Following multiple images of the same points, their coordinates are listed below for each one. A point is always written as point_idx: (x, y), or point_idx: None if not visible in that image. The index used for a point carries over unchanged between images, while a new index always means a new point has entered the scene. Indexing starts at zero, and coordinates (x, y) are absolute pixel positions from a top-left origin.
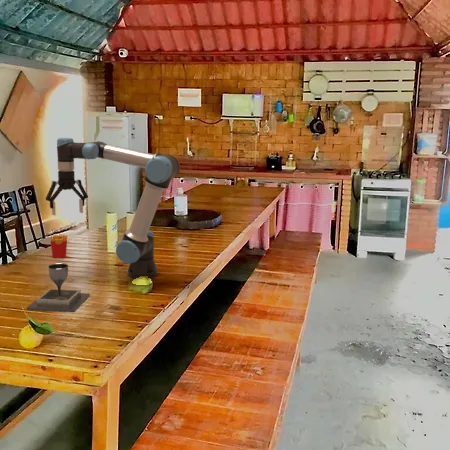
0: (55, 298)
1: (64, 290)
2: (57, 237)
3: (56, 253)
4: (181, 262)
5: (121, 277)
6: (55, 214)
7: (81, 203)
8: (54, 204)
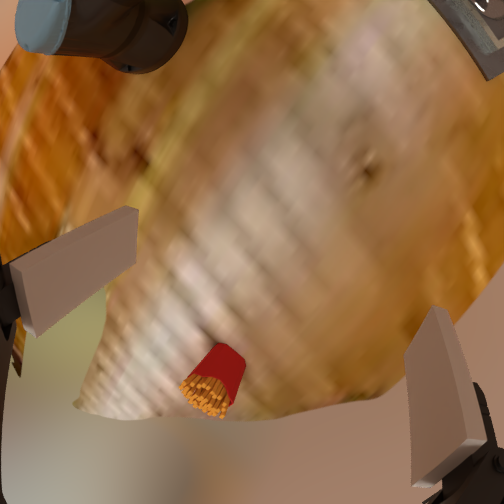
0: (499, 4)
1: (469, 2)
2: (209, 400)
3: (235, 365)
4: (37, 80)
5: (208, 36)
6: (434, 311)
7: (56, 249)
8: (469, 406)
